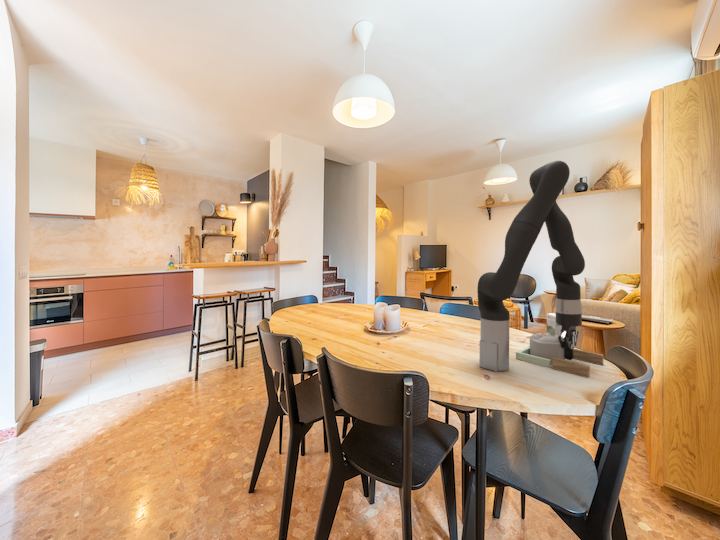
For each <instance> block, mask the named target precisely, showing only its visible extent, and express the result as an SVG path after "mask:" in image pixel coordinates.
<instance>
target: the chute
mask: <svg viewBox="0 0 720 540" xmlns="http://www.w3.org/2000/svg"><path fill="white" fill-rule="evenodd" d="M572 360H576V361H577V360H578V361H582V362H587V363H591V364H594V365H595V364H596V365H600V366H603V365H604V354H603V353H597V352H592V351H587V350H583V349H578V348H577V349H576V348H574V349H573V359H572ZM572 360H567V359H565V360H563V359H559V358H552V363H551V365H552V367H551V368H552V369H553V368H554V370H557V369H558V370H557V371H562V372H565V373H569V374H573V375H576V376H580V377H584V378H589V377H590V374H591V373H590V372H591V366H590V365H588V364H584V363H579V362H575V361H572Z"/></svg>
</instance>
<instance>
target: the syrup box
mask: <svg viewBox="0 0 720 540" xmlns="http://www.w3.org/2000/svg"><path fill="white" fill-rule="evenodd" d="M561 329H562V326H561V325H559V324H557V323H556V312H549V313H546V333H549V334H550V335H551V336H553V337H554V336H556V335H558V336H561V334H560V330H561Z"/></svg>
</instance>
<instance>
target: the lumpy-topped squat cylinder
mask: <svg viewBox="0 0 720 540" xmlns="http://www.w3.org/2000/svg"><path fill="white" fill-rule="evenodd" d="M529 346H530V354H529V355H533V356H537V357H541V358H545V359H549V360H551V364H552V358H559V359H563V360H566V359H565V349H564V348H562V347H561V344H560V342H559V339H558V335H556V336H554V337H553V336H551V335H550V334H549V333H547V332H544V334H542V332H537V333H536V334H534V333H533V334H532V335H530V336H529Z"/></svg>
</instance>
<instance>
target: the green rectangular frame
mask: <svg viewBox="0 0 720 540" xmlns="http://www.w3.org/2000/svg"><path fill="white" fill-rule="evenodd" d="M515 359H516V360H520V361H524V362H527V363H530V364H535V365H539V366H542V365H543V366H542V367H546V368H550V366H551V365H552V363H551V360H549V359H545V358H541V357H537V356H533V355H530V345H528V346H526V347H524V348H523V349H520V350H517V351H516V352H515Z"/></svg>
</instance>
